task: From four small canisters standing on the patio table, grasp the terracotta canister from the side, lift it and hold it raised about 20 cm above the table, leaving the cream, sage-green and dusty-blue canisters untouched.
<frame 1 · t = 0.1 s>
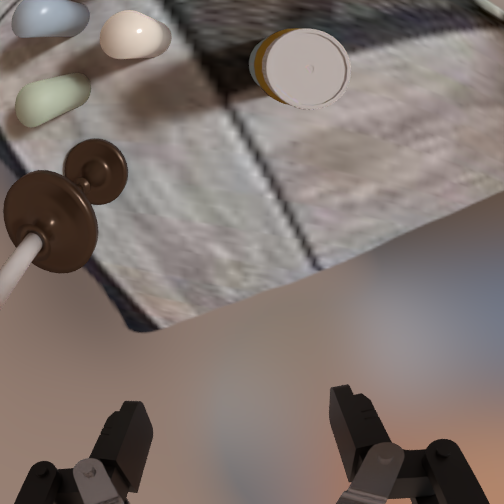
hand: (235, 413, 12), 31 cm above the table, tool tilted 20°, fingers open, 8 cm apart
dusty blue canister: (73, 19, 25), on the table
bottle: (279, 64, 31), on the table
candlestick: (97, 170, 37), on the table
sage canister: (74, 90, 30), on the table
cream canister: (151, 39, 28), on the table
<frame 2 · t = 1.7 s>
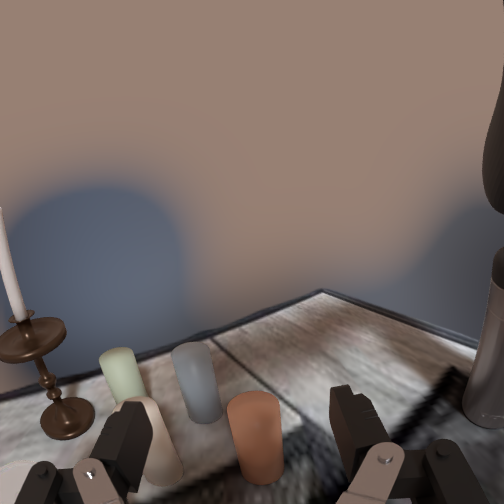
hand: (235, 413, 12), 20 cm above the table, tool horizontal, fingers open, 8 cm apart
terracotta canister: (262, 468, 28), on the table
dusty blue canister: (205, 412, 38), on the table
candlestick: (68, 420, 35), on the table
sage canister: (138, 414, 37), on the table
cream canister: (163, 471, 28), on the table
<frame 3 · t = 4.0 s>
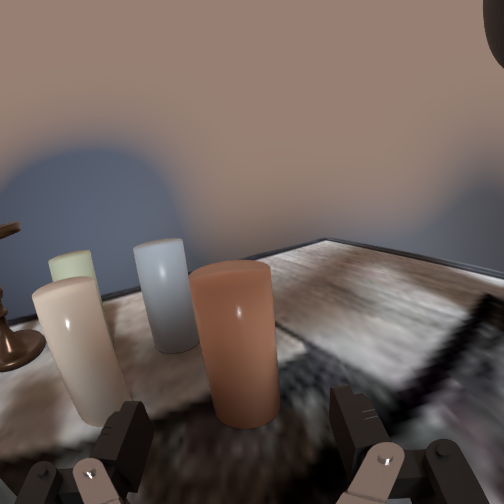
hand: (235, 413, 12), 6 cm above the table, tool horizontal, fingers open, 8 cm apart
terracotta canister: (247, 406, 20), on the table
dusty blue canister: (177, 341, 30), on the table
candlestick: (14, 354, 28), on the table
sage canister: (94, 345, 30), on the table
cream canister: (105, 407, 20), on the table
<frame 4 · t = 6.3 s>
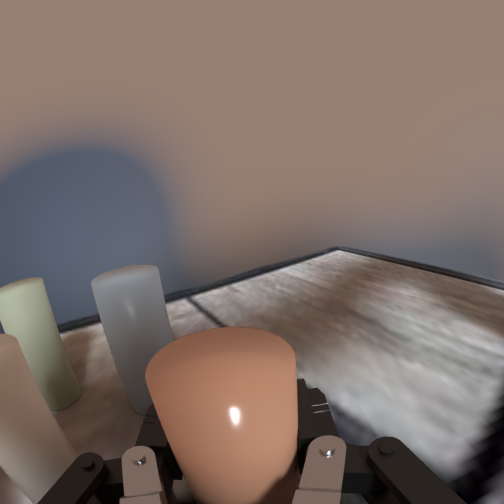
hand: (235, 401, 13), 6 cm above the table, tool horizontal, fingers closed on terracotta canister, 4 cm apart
dusty blue canister: (158, 397, 22), on the table
sage canister: (58, 394, 21), on the table
cream canister: (66, 493, 12), on the table
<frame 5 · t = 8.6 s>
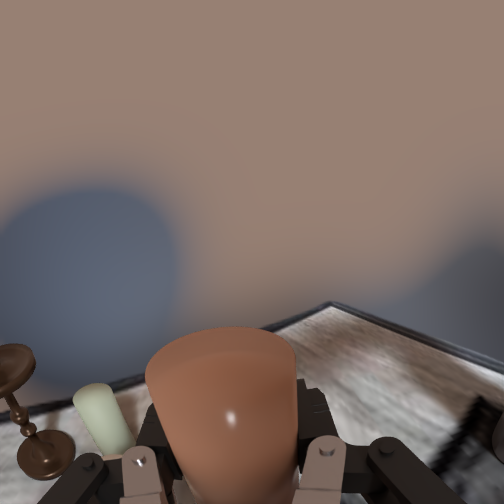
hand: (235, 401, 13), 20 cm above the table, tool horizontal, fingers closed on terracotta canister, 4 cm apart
candlestick: (47, 457, 27), on the table
sage canister: (123, 455, 29), on the table
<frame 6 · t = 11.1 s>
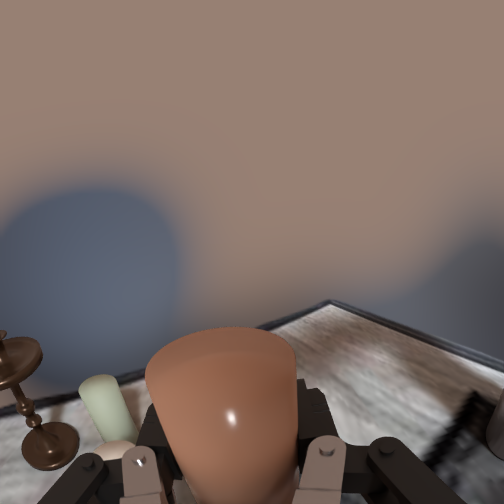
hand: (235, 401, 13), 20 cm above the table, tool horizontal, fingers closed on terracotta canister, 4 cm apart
candlestick: (51, 448, 29), on the table
sage canister: (126, 446, 31), on the table
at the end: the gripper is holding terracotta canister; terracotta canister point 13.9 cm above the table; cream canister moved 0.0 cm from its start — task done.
